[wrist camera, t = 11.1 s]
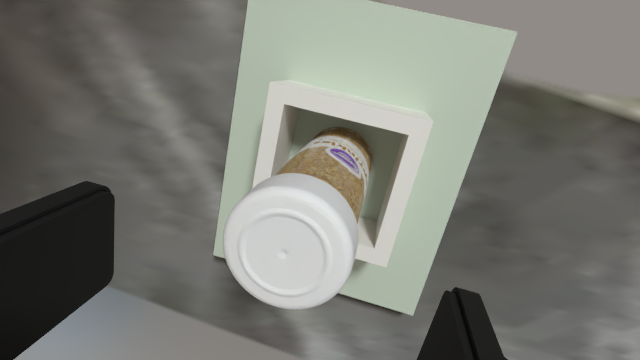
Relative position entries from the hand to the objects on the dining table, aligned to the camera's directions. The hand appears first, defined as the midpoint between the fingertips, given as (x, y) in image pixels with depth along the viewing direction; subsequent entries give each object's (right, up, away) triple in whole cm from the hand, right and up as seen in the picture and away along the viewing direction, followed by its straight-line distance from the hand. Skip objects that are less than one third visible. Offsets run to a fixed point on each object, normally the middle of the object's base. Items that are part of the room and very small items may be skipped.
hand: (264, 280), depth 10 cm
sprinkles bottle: (+3, +4, +15) cm, 16 cm away
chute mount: (+3, +4, +16) cm, 17 cm away
